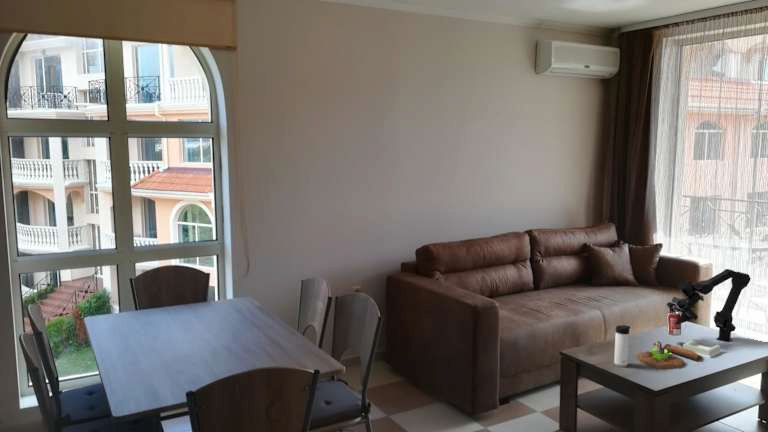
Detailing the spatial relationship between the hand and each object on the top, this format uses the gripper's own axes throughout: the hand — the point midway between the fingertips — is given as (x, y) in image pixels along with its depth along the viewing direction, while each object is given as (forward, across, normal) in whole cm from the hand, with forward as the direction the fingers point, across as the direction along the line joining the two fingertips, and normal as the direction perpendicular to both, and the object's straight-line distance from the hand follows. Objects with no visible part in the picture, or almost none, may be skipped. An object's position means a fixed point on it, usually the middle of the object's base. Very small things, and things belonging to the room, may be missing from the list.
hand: (671, 322), depth 318 cm
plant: (+25, +21, -7) cm, 34 cm away
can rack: (+3, +13, +15) cm, 20 cm away
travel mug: (+40, +21, -23) cm, 50 cm away
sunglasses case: (+12, +16, +6) cm, 21 cm away
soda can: (+4, +1, +6) cm, 7 cm away
